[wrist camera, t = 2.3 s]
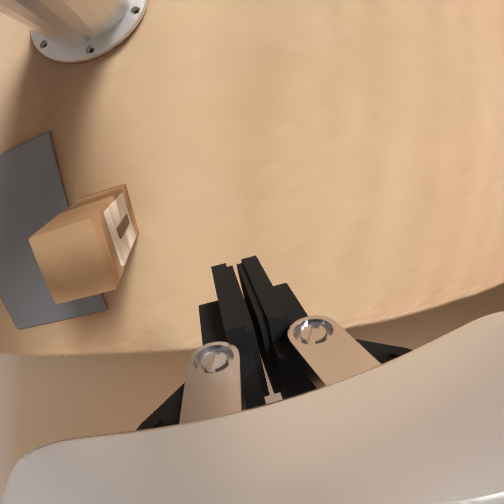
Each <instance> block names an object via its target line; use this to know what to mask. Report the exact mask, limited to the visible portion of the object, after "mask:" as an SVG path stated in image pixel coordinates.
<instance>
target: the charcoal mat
mask: <svg viewBox="0 0 504 504" xmlns="http://www.w3.org/2000/svg"><path fill="white" fill-rule="evenodd" d="M68 207H69V204H68V201H67V197H66V194H65V191H64V187H63V184H62V180H61V176H60V172H59V169H58V165H57V161H56V157H55V152H54V148H53V144H52V139H51V134H50V132H48V133H46V134H44V135H41V136H39V137H37V138H35V139H32V140H30V141H28V142H26V143H24V144H22V145H20V146H18V147H16V148H14V149H12V150H10V151H8V152H6V153H4V154H2V155H0V296H1V298H2V301H3V303H4V304H5V306H6V308H7V310H8V312H9V314H10V316H11V318H12V320H13V322H14V323H15V325H16V327H17V329H22V328H27V327H31V326H36V325H41V324H45V323H50V322H54V321H59V320H64V319H68V318H73V317H77V316H82V315H86V314H90V313H95V312H99V311H104V310H107V308H108V307H107V305H106V303H105V301H104V298H103V296H102V294H101V293H100V294H96V295H92V296H88V297H84V298H80V299H76V300H72V301H68V302H64V303H59V304H56V303H55V301H54V299H53V297H52V295H51V293H50V290H49V288H48V286H47V284H46V282H45V279H44V277H43V275H42V272H41V270H40V268H39V265H38V263H37V260H36V258H35V255H34V253H33V250H32V248H31V245H30V242H29V240H28V239H29V238H30V237H31V236H32V235H34V234H35V233H36V232H37V231H39V230H40V229H41V228H42V227H43V226H45V225H46V224H47V223H48V222H50V221H51V220H52V219H53V218H55V217H56V216H57V215H59V214H60V213H61V212H63V211H64V210H65V209H67V208H68Z"/></svg>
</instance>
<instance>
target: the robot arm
mask: <svg viewBox="0 0 504 504" xmlns="http://www.w3.org/2000/svg"><path fill="white" fill-rule="evenodd" d="M148 1H149V0H0V12H2V13H4V14H6V15H7V16H9V17H11V18H13V19H15V20H17V21H18V22H20V23H22V24H24V25H25V26H27V27H29V28H30V32H31V38H32V40H33V43H34V45H35V46H36V48H37V49H38V50H39V51H40V52H41V53H42V54H44V55H45V56H46V57H48V58H51V59H53V60H55V61H60V62H66V63H75V62H82V61H87V60H90V59H93V58H96V57H98V56H100V55H102V54H104V53H106V52H108V51H110V50H111V49H113V48H114V47H116V46H117V45H119V44H120V43H121V42H122V41H123V40H125V39H126V38H127V37H128V36H129V35H130V34H131V33H132V31H133V30H134V29H135V28H136V27H137V25H138V24H139V22H140V21H141V19H142V18H143V16H144V13H145V11H146V9H147V6H148ZM136 11H138V13H137V14H134V13H135V12H136ZM46 45H47V46H46ZM45 46H46V47H45ZM92 49H94V51H93V52H92V53H90V51H91V50H92ZM241 261H242V263H240V264H237V269H238V273H239V278H240V282H241V286H242V291H243V295H244V298H243V295H242V292H241V289H240V286H239V283H238V281H237V278H236V275H235V272H234V269H233V266H229V267H227V266H226V263H224V264H220V265H217V266H213V267H211V268H212V273H213V278H214V283H215V288H216V293H217V298H218V301H214V302H210V303H206V304H202V305H199V314H200V324H201V333H202V341H203V346H201V347H199V348H198V349H196V350H195V351H194V352H193V353H192V355H191V356H190V358H189V361H188V365H187V372H186V379H185V383H184V384H183V385H182V386H181V387H180V388H179V389H178V390H177V391H176V392H174V393H173V394H172V395H171V396H170V397H169V398H168V399H167V400H166V401H165V402H164V403H163V404H162V405H161V406H160V407H159V408H158V409H157V410H155V411H154V412H153V413H152V414H151V415H150V416H149V417H148V418H147V419H146V420H145V421H144V422H143V423H141V425H140V426H139V427H138V428H137V430H136V431H128V432H121V433H120V432H119V433H112V434H104V435H95V436H85V437H78V438H71V439H65V440H61V441H58V442H53V443H50V444H47V445H45V446H42V447H39V448H37V449H35V450H33V451H31V452H29V453H28V454H26V455H25V456H23V457H22V458H21V459H20V460H19V461H18V463H17V464H16V466H15V467H14V469H13V471H12V473H11V475H10V478H9V480H8V483H7V486H6V489H5V493H4V496H3V500H2V504H504V311H503V312H497V313H495V314H491V315H488V316H484V317H482V318H479V319H477V320H474V321H472V322H470V323H468V324H466V325H464V326H462V327H460V328H458V329H456V330H454V331H452V332H450V333H448V334H446V335H443V336H441V337H440V338H437V339H436V340H434V341H432V342H429V343H427V344H426V345H423V346H421V347H419V348H417V349H415V350H411V349H407V348H403V347H396V346H390V345H384V344H379V343H374V342H368V341H363V340H357V339H353V338H352V337H351V336H350V335H349V334H348V333H347V332H346V331H345V330H344V329H343V328H342V327H341V326H339V325H338V324H337V323H336V322H335V321H334V320H332V319H331V318H328V317H325V316H317V315H315V316H308V315H307V314H306V312H305V311H304V309H303V308H302V306H301V304H300V303H299V301H298V300H297V298H296V297H295V295H294V294H293V292H292V291H291V289H290V287H289V286H288V284H287V283H283V284H280V285H276V286H273V285H272V284H271V282H270V280H269V278H268V276H267V275H266V273H265V271H264V269H263V267H262V266H261V264H260V262H259V260H258V258H257V257H256V256H252V257H248V258H244V259H241ZM260 355H261V357H260ZM261 358H262V361H263V363H264V366H265V369H266V372H267V375H268V377H269V380H270V383H271V386H272V389H273V391H274V393H279V392H281V395H282V398H283V400H280V401H276V402H272V403H269V404H266V402H265V399H264V397H265V396H268V395H269V391H268V387H267V382H266V378H265V374H264V370H263V365H262V361H261Z"/></svg>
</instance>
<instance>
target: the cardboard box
mask: <svg viewBox="0 0 504 504" xmlns="http://www.w3.org/2000/svg"><path fill="white" fill-rule="evenodd" d="M138 233H139V229H138V226H137V223H136V219H135V216H134V213H133V209H132V206H131V202H130V199H129V195H128V191H127V188H126V184H124V185H120V186H117V187H114V188H110V189H107V190H104V191H101V192H98V193H95V194H91V195H88V196H85V197H82V198H80V199H79V200H77V201H76V202H75V203H73V204H72V205H70V206H69V207H68V208H67V209H65V210H64V211H63V212H61V213H60V214H59V215H57V216H56V217H55V218H53V219H52V220H51V221H50V222H48V223H47V224H46V225H45V226H43V227H42V228H41V229H40V230H39V231H37V232H36V233H35V234H34V235H32V236H31V237H30V238H29V239H28V240H29V242H30V245H31V248H32V250H33V253H34V255H35V258H36V260H37V263H38V265H39V268H40V270H41V272H42V275H43V277H44V279H45V282H46V284H47V286H48V288H49V290H50V293H51V295H52V297H53V299H54V301H55V303H56V304H59V303H64V302H68V301H72V300H76V299H80V298H84V297H88V296H92V295H96V294H100V293H104V292H108V291H113V290H117V287H118V284H119V282H120V279H121V276H122V274H123V271H124V268H125V266H126V263H127V260H128V258H129V255H130V253H131V250H132V248H133V245H134V243H135V240H136V238H137V236H138Z"/></svg>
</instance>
